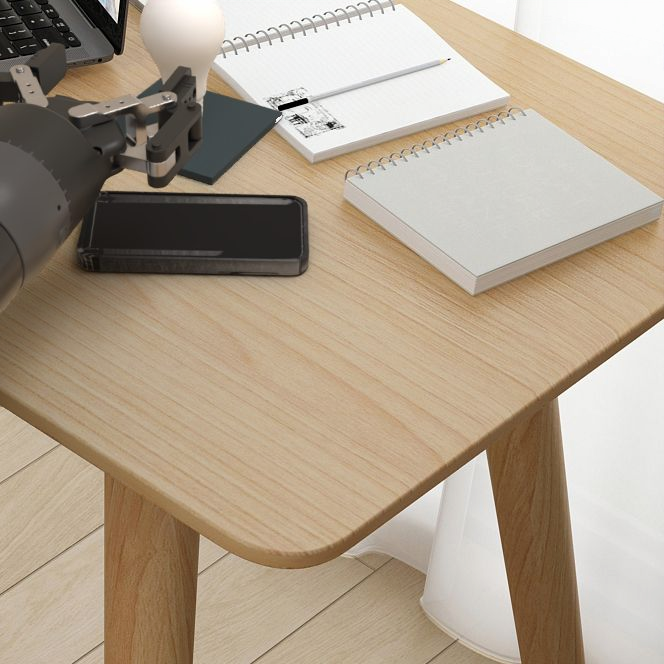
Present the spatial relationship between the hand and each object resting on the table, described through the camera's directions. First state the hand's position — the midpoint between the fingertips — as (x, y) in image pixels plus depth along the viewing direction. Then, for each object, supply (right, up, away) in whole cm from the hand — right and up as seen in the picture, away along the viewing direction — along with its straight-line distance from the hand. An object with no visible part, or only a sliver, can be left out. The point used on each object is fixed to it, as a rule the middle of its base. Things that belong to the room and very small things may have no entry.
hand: (123, 68), depth 76 cm
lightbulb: (+2, -1, +15) cm, 16 cm away
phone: (+4, -11, +5) cm, 12 cm away
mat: (+2, -1, +16) cm, 16 cm away
